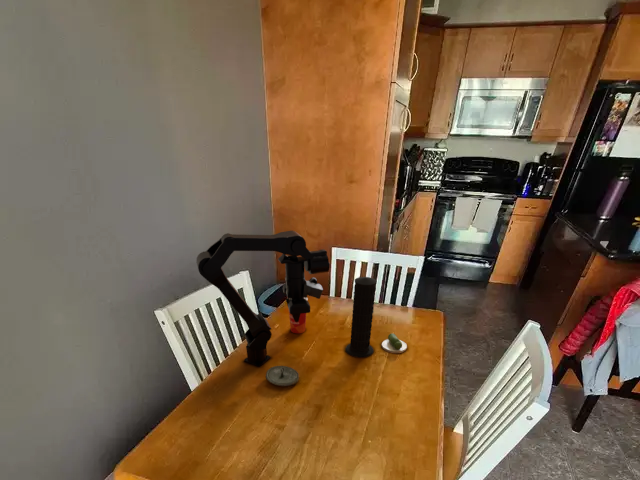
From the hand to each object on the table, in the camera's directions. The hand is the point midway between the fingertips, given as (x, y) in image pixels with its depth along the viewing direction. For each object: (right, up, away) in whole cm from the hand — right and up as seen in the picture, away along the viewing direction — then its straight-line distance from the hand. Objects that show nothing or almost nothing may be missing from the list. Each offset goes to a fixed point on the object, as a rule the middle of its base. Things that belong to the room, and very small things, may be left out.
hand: (296, 321), depth 121 cm
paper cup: (-1, 0, +21) cm, 21 cm away
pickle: (+35, -7, +11) cm, 37 cm away
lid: (-4, -19, -6) cm, 21 cm away
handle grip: (+22, -9, +9) cm, 25 cm away
